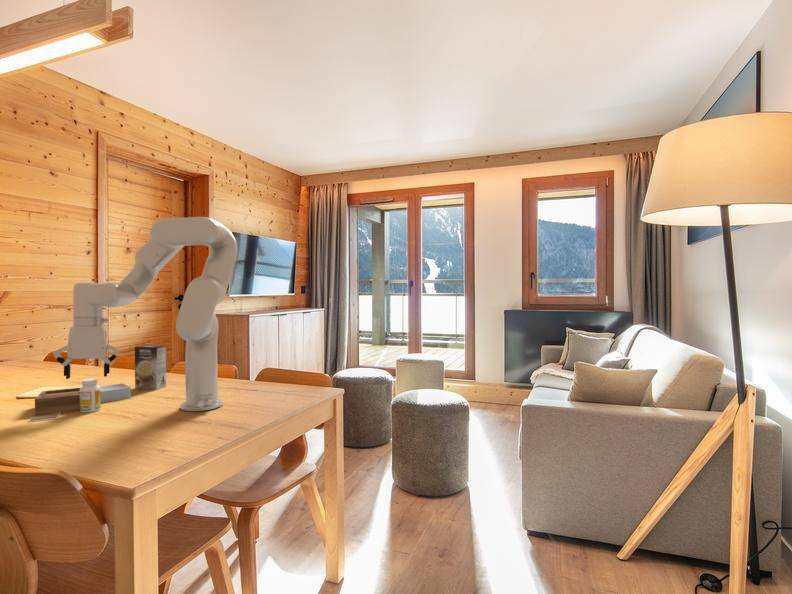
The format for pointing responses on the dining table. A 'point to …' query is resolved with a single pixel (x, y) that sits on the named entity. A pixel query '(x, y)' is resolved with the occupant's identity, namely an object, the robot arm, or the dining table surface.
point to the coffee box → (150, 367)
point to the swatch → (44, 416)
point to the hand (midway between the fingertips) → (87, 377)
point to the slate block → (114, 392)
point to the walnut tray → (58, 401)
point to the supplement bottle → (89, 396)
